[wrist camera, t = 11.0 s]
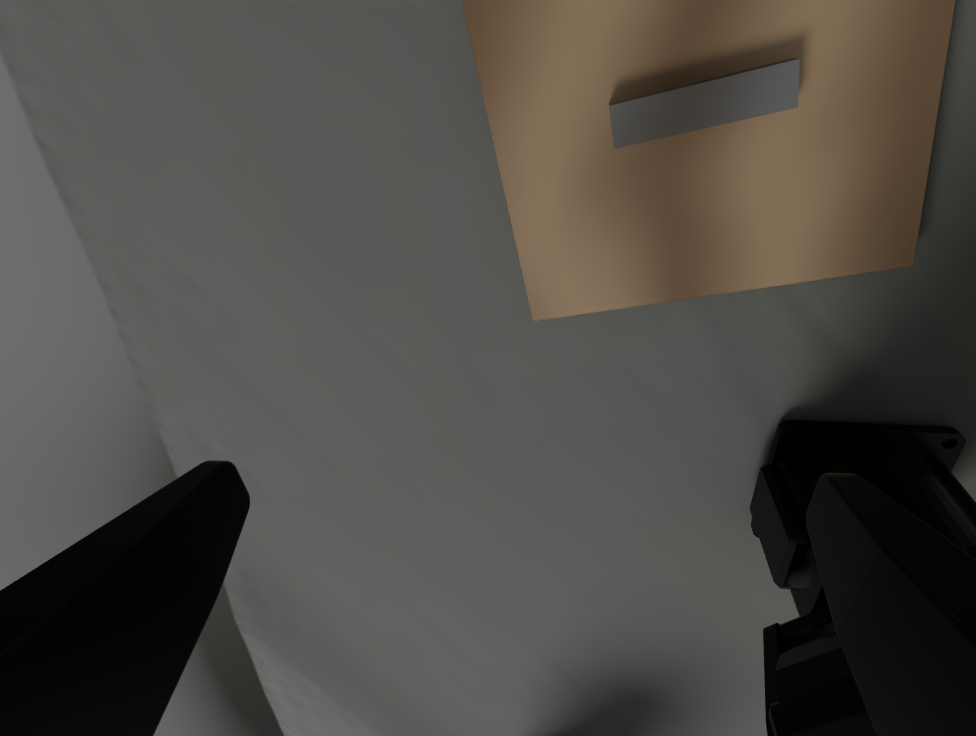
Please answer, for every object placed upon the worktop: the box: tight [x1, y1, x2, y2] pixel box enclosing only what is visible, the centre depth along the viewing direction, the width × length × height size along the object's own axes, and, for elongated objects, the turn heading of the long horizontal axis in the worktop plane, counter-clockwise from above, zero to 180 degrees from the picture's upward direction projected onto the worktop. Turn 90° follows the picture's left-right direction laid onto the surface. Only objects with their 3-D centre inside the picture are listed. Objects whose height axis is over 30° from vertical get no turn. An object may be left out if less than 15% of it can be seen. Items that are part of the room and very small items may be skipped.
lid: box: [462, 0, 955, 321], centre depth 16 cm, size 12×12×1 cm
